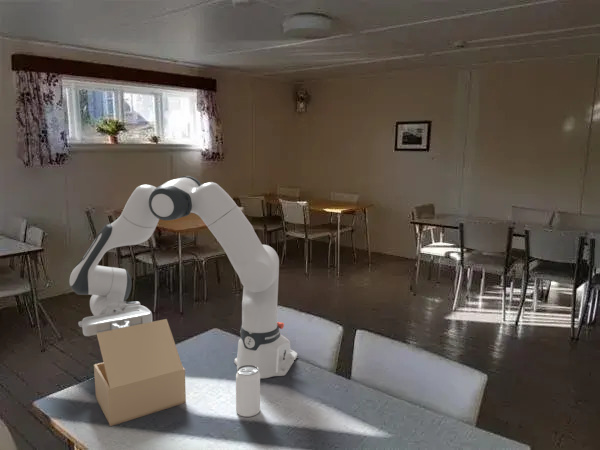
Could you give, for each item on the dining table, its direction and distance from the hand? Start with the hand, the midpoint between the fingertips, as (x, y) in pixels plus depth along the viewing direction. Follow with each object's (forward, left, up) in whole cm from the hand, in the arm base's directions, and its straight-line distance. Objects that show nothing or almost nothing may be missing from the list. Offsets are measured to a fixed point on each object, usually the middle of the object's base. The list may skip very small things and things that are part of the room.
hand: (124, 330), depth 139 cm
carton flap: (+7, +13, -1) cm, 15 cm away
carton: (+6, +12, -16) cm, 21 cm away
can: (-4, +41, -16) cm, 44 cm away
